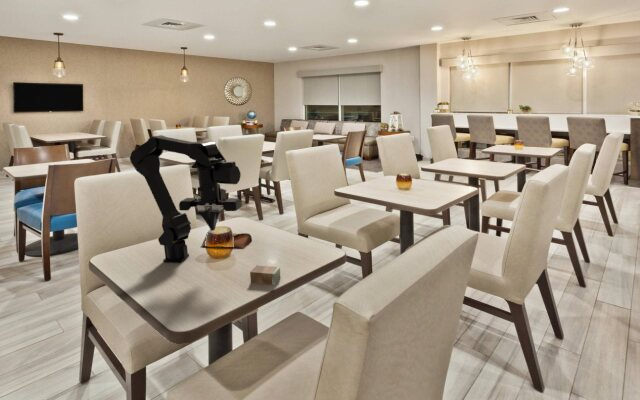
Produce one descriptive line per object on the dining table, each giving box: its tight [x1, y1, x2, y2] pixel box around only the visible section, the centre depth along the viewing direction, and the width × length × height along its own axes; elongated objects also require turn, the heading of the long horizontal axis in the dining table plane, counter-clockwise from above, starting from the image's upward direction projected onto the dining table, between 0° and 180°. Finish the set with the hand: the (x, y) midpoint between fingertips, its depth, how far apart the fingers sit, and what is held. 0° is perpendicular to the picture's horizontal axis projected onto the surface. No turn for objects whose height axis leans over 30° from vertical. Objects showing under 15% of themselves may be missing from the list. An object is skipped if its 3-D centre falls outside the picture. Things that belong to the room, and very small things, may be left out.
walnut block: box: [249, 264, 282, 286], centre depth 124 cm, size 4×5×8 cm
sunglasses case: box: [200, 231, 253, 250], centre depth 156 cm, size 18×7×7 cm, turn 83°
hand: (213, 230), depth 133 cm, fingers closed
